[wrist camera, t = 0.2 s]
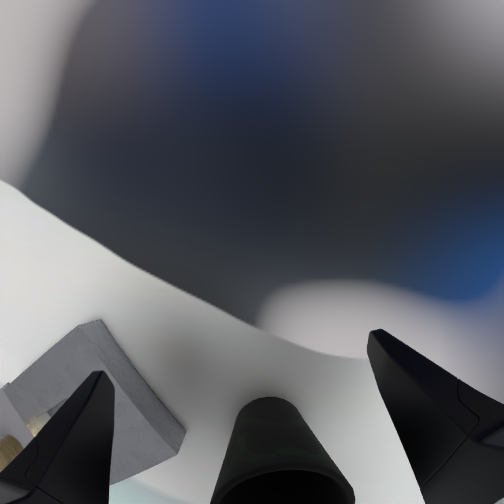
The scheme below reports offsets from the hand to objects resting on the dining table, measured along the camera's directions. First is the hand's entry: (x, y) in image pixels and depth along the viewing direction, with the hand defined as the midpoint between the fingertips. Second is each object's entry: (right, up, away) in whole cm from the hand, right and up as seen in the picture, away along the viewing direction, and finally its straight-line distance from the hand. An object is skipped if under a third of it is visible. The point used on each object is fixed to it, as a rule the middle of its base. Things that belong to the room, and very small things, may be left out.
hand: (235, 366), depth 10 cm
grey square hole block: (-13, -10, +14) cm, 22 cm away
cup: (+2, -11, +14) cm, 18 cm away
